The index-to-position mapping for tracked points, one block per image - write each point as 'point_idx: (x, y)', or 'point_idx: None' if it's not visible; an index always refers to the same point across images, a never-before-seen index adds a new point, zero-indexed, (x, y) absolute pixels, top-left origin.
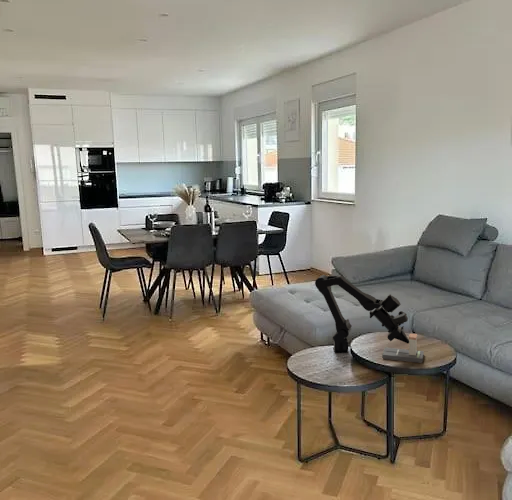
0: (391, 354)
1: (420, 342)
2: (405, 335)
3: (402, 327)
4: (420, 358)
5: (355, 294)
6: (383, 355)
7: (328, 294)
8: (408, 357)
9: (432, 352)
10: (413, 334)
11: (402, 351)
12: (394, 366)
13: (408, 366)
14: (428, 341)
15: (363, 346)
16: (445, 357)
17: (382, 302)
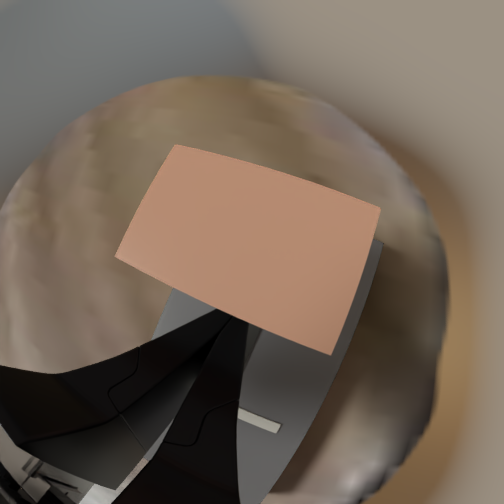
0: (261, 460)
1: (64, 178)
2: (169, 372)
3: (3, 419)
4: (377, 254)
5: None
6: (259, 501)
7: None
8: (346, 348)
9: (191, 142)
10: (177, 205)
11: None
12: (396, 447)
13: (414, 362)
14: (70, 144)
15: None
16: (275, 102)
17: None
